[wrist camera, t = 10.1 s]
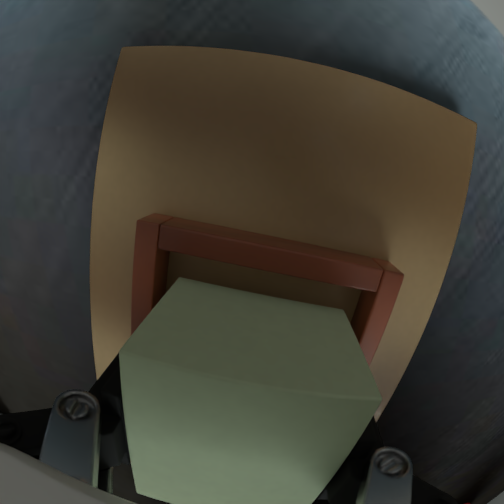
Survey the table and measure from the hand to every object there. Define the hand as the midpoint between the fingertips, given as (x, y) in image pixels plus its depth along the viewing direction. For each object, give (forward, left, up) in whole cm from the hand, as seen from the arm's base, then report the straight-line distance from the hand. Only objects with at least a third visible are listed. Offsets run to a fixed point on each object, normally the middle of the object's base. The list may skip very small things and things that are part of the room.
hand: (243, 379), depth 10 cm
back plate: (0, 0, -3) cm, 3 cm away
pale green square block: (0, 0, 0) cm, 0 cm away
